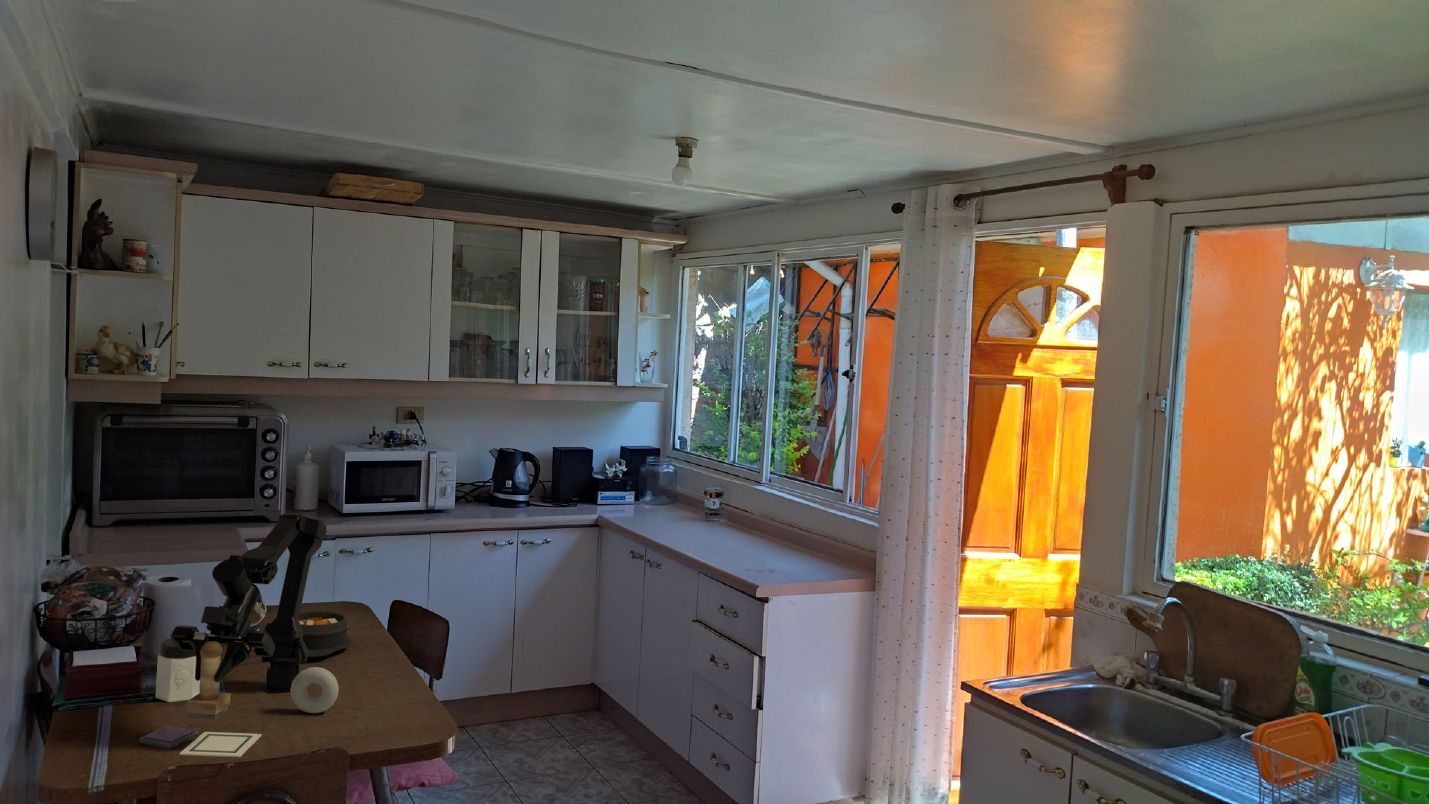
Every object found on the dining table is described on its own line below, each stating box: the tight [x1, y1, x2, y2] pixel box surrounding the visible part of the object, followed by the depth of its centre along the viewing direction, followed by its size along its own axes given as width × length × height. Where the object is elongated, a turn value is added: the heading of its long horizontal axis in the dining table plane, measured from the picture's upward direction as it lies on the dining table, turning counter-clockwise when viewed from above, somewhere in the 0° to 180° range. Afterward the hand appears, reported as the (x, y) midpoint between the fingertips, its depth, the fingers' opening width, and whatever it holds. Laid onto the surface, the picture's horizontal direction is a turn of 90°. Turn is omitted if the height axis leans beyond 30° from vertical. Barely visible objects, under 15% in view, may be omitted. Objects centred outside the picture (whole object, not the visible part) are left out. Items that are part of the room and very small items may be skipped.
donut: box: [289, 666, 340, 714], centre depth 210 cm, size 10×4×10 cm, turn 94°
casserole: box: [299, 610, 353, 658], centre depth 254 cm, size 25×19×8 cm
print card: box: [178, 731, 262, 758], centre depth 190 cm, size 11×11×1 cm
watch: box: [242, 599, 268, 637], centre depth 260 cm, size 6×8×11 cm
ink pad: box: [139, 725, 199, 749], centre depth 191 cm, size 7×7×1 cm
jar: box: [154, 637, 200, 703], centre depth 214 cm, size 9×8×12 cm
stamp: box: [185, 641, 232, 720], centre depth 190 cm, size 6×6×14 cm
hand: (206, 680), depth 189 cm, fingers closed on stamp, 3 cm apart
